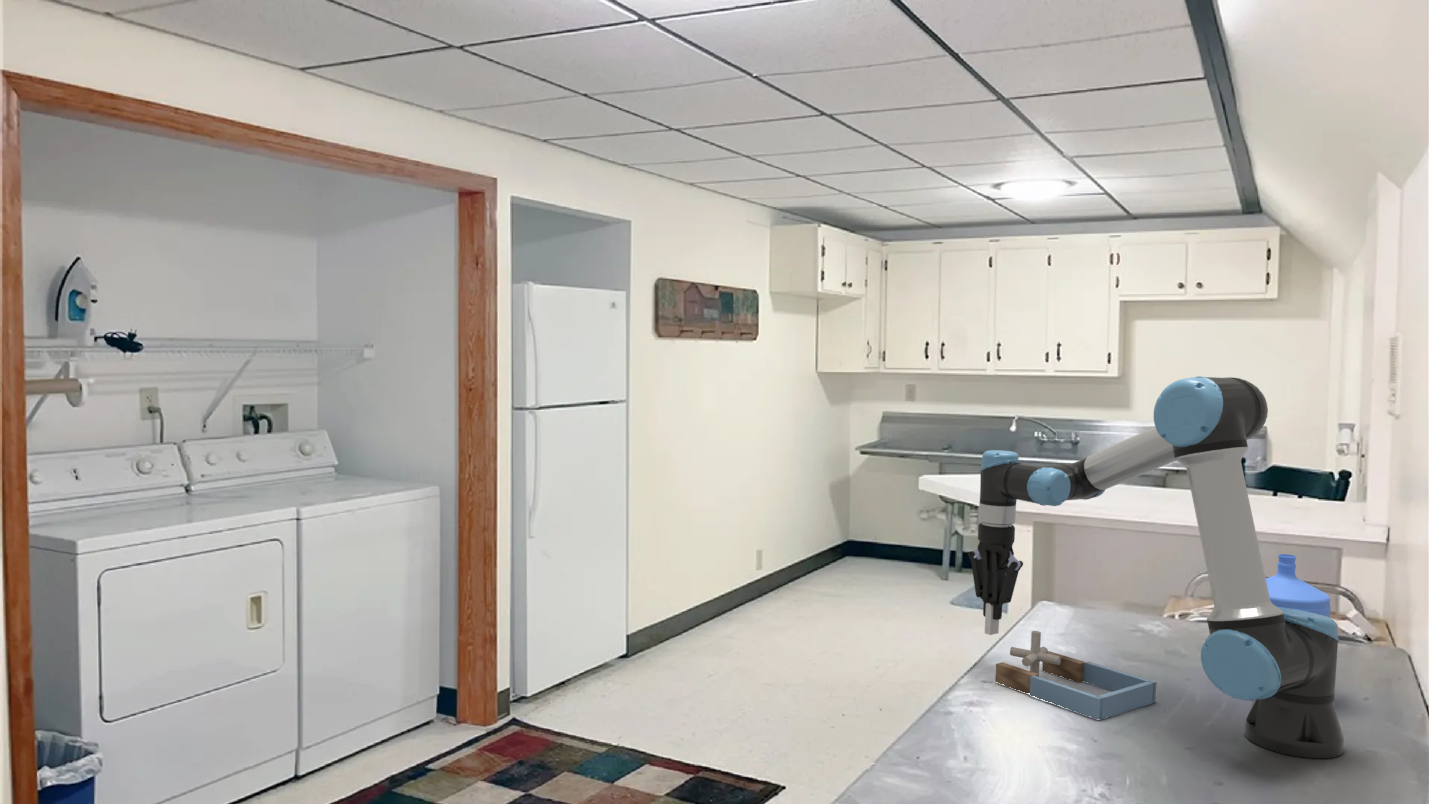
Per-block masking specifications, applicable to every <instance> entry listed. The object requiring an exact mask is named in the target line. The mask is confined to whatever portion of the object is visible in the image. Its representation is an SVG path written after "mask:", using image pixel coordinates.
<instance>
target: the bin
mask: <svg viewBox="0 0 1429 804" xmlns="http://www.w3.org/2000/svg"><path fill="white" fill-rule="evenodd" d="M1084 662H1085V663H1084V682H1083V683H1086V682H1088V683H1087V684H1089V683H1090V684H1089V685H1092V684H1094V685H1093V686H1095V685H1096V687H1098V688H1102V687H1103V688H1102V689H1105V690H1108V691H1109V692H1107V693H1104V694H1101V695H1095V694H1093V693H1089V692H1088V691H1084V690H1080V689H1078V688H1074V687H1071V686H1068V685H1064V684H1061V683H1060V682H1056V681H1053V680H1049V679H1047V678H1043V677H1041V676H1039V677H1038V676H1035V675H1034V676H1031V677H1030V695H1031V696H1035V697H1037V698H1039V699H1043V700H1045V701H1048V702H1052V703H1054V704H1056V705H1060V706H1062V707H1064V708H1068V709H1070V710H1072V711H1076V712H1078V713H1081V714H1084V715H1087V716H1091V717H1092V718H1095V719H1102V720H1105V719H1107V718H1106V717H1108V718H1110V717H1109V716H1111V717H1114V715H1115V716H1117V714H1118V715H1121V714H1124V713H1127V712H1131V711H1133V710H1136V709H1139V708H1143V707H1146V706H1148V705H1153V704H1156V702H1157V684H1158V683H1157V681H1153V680H1150V679H1148V678H1145V677H1141V676H1137V675H1135V674H1132V673H1128V672H1125V671H1120V670H1117V669H1114V668H1111V667H1108V666H1105V665H1102V664H1101V665H1100V664H1097V663H1093V662H1092V661H1091V662H1090V661H1084ZM1110 691H1111V692H1110ZM1030 695H1029V696H1030ZM1064 708H1063V709H1064ZM1072 711H1071V712H1072ZM1078 713H1077V714H1078ZM1081 714H1080V715H1081ZM1084 715H1083V716H1084ZM1092 718H1091V719H1092ZM1104 718H1105V719H1104ZM1095 719H1094V720H1095Z"/></svg>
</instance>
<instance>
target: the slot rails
mask: <svg viewBox="0 0 1429 804" xmlns="http://www.w3.org/2000/svg"><path fill="white" fill-rule="evenodd" d="M1048 654H1051V655H1056V656H1060V657H1061V663H1060V665H1056V664H1051V663H1046V662H1041V663H1042V667H1041V671H1042V670H1043V671H1045V672H1044V673H1046V672H1048V673H1047V674H1049V673H1053V674H1055V675H1054V676H1056V675H1057V676H1056V677H1059V676H1062V677H1064V678H1063V679H1065V678H1066V680H1068V679H1071V680H1073V681H1072V682H1074V681H1075V683H1077V682H1081V683H1084V682H1083V681H1084V663H1085V662H1086V661H1084V660H1080V659H1078V658H1077V659H1076V658H1073V657H1070V656H1067V655H1063V654H1061V653H1057V652H1053V651H1050V650H1048ZM1043 671H1042V672H1043ZM994 674H995V675H994V676H995V681H994V683H995V682H998V683H1000V684H1004V685H1005V686H1007V687H1011V688H1013V689H1016V690H1020V691H1022V692H1025V693H1030V677H1031V676H1034V675H1035V676H1038V677H1040V673H1039V674H1037V673H1034V672H1031V671H1030V670H1028V669H1024V668H1021V667H1019V666H1015V665H1012V664H1009V663H1006V662H998V663H995V673H994ZM1062 677H1061V678H1062ZM1071 680H1070V681H1071ZM1007 687H1006V688H1007ZM1013 689H1012V690H1013ZM1016 690H1015V691H1016ZM1022 692H1021V693H1022ZM1025 693H1024V694H1025Z"/></svg>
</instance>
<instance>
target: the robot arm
mask: <svg viewBox="0 0 1429 804" xmlns="http://www.w3.org/2000/svg"><path fill="white" fill-rule="evenodd" d="M1153 408H1154V409H1153V423H1154V426H1152V427H1151V428H1149V429H1146V430H1145V431H1142V432H1140V433H1138V434H1135V435H1133V436H1131V437H1128V438H1126V439H1124V440H1122V441H1119V442H1117V443H1116V444H1113V445H1111V446H1109V447H1106V448H1104V449H1103V450H1100V451H1098V452H1095V453H1093V454H1091V455H1089V456H1087V457H1084V458H1082V459H1080V460H1078V461H1076V462H1075V461H1074V462H1072V463H1065V464H1062V463H1061V464H1050V465H1032V464H1024V463H1020V461H1019V454H1018V453H1017V452H1015V451H1011V450H1001V449H997V450H996V449H992V450H986V451H984V452H983V454H982V457H981V465H980V469H979V472H980V490H979V507H978V522H980V523H979V524H978V526H977V539H978V541H979V543H978V545H977V549H975V550H970V551H968V553H967V556H968V558H969V560H970V562H971V569H972V570H971V571H972V576H973V585H974V592H975V597H976V598H980V599H981V600H982V603H983V605H982V606H983V610H982V615H983V617H985V619H984V634H985V635H989V636H992V635H996V634H999V632H1000V631H999V629H1000V628H999V627H1000V620H1002V616H1003V605H1004V604H1008V603H1011V601H1012V598H1013V595H1014V590H1015V586H1016V584H1017V578H1018V576H1019V575H1018V574H1019V572H1020V570H1021V568H1022V567H1023V566H1024V561H1022V560H1018V559H1017V558H1016V557H1015V556H1014V555H1015V553H1014V549H1013V546H1014V543H1015V539H1016V538H1015V535H1016V527H1015V526H1014V524H1015V523H1016V512H1017V510H1016V509H1017V500H1018V501H1023V502H1027V503H1032V504H1037V505H1040V506H1044V507H1045V506H1051V507H1058V506H1061V505H1062V504H1063V503H1064V502H1066V501H1078V500H1084V501H1085V500H1091V499H1094V498H1098V497H1100V496H1101V495H1103V494H1104V493H1105V491H1106V490H1107V489H1110V488H1112V487H1115V486H1117V485H1119V484H1122V483H1124V482H1127V481H1129V480H1130V481H1131V480H1132V479H1134V478H1137V477H1140V476H1142V475H1145V474H1147V473H1149V472H1152V471H1155V470H1157V469H1159V468H1162V467H1164V466H1167V465H1170V464H1172V463H1174V462H1178V463H1179V464H1180V465H1182V466H1184V468H1185V469H1186V473H1187V478H1188V482H1189V488H1190V493H1191V498H1192V502H1193V507H1194V513H1195V518H1196V522H1197V526H1198V532H1199V537H1200V541H1201V546H1202V551H1203V556H1204V562H1205V566H1206V573H1207V576H1208V581H1209V585H1210V586H1209V587H1210V592H1211V596H1212V600H1213V608H1212V611H1211V612H1210V613H1209V614H1208V615H1207V617H1206V621H1207V626H1208V630H1209V631H1208V633H1209V635H1208V636H1207V638H1206V639H1205V640H1204V643H1203V644H1202V645H1201V649H1200V661H1201V662H1200V663H1201V666H1202V669H1203V672H1204V674H1205V675H1206V677H1207V678H1208V680H1209V681H1210V682H1211V684H1212V685H1213V686H1214V687H1216V688H1217V689H1219V691H1221V692H1222V693H1223V694H1225V695H1226V696H1228V697H1231V698H1232V699H1236V700H1240V701H1253V702H1252V705H1251V707H1250V709H1249V711H1248V713H1247V716H1246V717H1245V721H1244V736H1245V737H1246V739H1247V740H1249V741H1250V742H1252V743H1253V744H1255V745H1257V746H1260V747H1262V748H1264V749H1266V750H1270V751H1272V752H1276V753H1280V754H1284V755H1289V756H1294V757H1299V758H1308V759H1309V758H1310V759H1330V758H1336V757H1339V756H1341V755H1342V754H1343V753H1344V747H1345V738H1344V734H1343V731H1342V726H1341V723H1340V720H1339V717H1338V714H1337V711H1336V708H1335V690H1336V677H1337V676H1336V675H1337V664H1338V663H1337V661H1338V645H1339V642H1340V639H1339V637H1338V636H1339V635H1338V634H1339V630H1338V623H1337V622H1336V621H1335V620H1334V619H1333V618H1332V617H1330V618H1329V617H1326V616H1323V615H1319V614H1315V613H1311V612H1306V611H1301V610H1295V609H1289V608H1282V607H1276V606H1275V605H1273V604H1272V603H1271V601H1270V597H1269V592H1268V588H1267V583H1266V578H1267V577H1266V574H1265V569H1264V565H1263V559H1262V555H1261V552H1260V550H1261V549H1260V546H1259V541H1258V537H1257V531H1256V526H1255V523H1254V516H1253V513H1252V512H1253V511H1252V508H1251V502H1250V499H1249V498H1250V497H1249V494H1248V489H1247V485H1246V479H1245V474H1244V470H1243V466H1242V465H1243V464H1242V459H1243V457H1244V456H1245V454H1246V453H1247V452H1248V451H1249V446H1248V441H1247V440H1249V439H1251V438H1253V437H1255V436H1256V435H1257V434H1258V433H1260V431H1261V430H1262V429H1263V427H1264V426H1265V424H1266V422H1267V419H1268V412H1269V411H1268V410H1269V408H1268V402H1267V399H1266V397H1265V395H1264V393H1262V391H1261V390H1260V389H1259V387H1257V386H1256V385H1255V384H1254V383H1252V382H1250V381H1248V380H1246V379H1242V378H1240V377H1232V376H1231V377H1216V376H1215V377H1213V376H1212V377H1211V376H1210V377H1209V376H1195V377H1194V376H1193V377H1187V378H1181V379H1178V380H1175V381H1173V382H1172V383H1170V384H1169V385H1167V386H1166V387H1165V388H1164V389H1163V390H1162V392H1161V393H1160V395H1159V396H1158V397H1157V400H1156V401H1155V404H1154V407H1153Z"/></svg>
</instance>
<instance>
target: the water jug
mask: <svg viewBox="0 0 1429 804" xmlns="http://www.w3.org/2000/svg"><path fill="white" fill-rule="evenodd" d="M1277 557H1278V562H1277V571H1276V574H1275V575H1273V576H1269V577H1265V578H1266V583H1267V588H1268V592H1269V597H1270V601H1271V603H1272V604H1273V605H1275V606H1276V607H1282V608H1289V609H1295V610H1301V611H1306V612H1311V613H1315V614H1319V615H1323V616H1326V617H1329V618H1331V599H1330V596H1329V595H1328V594H1327V593H1326V592H1324V591H1322V590H1321V589H1318V588H1316V587H1314V585H1311V584H1309V583H1307V582H1306V581H1304V580H1302V579H1299V578H1298V577H1297V576H1296V568H1297V564H1296V559H1297V556H1296V555H1292V554H1286V553H1279V554H1277Z"/></svg>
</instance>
